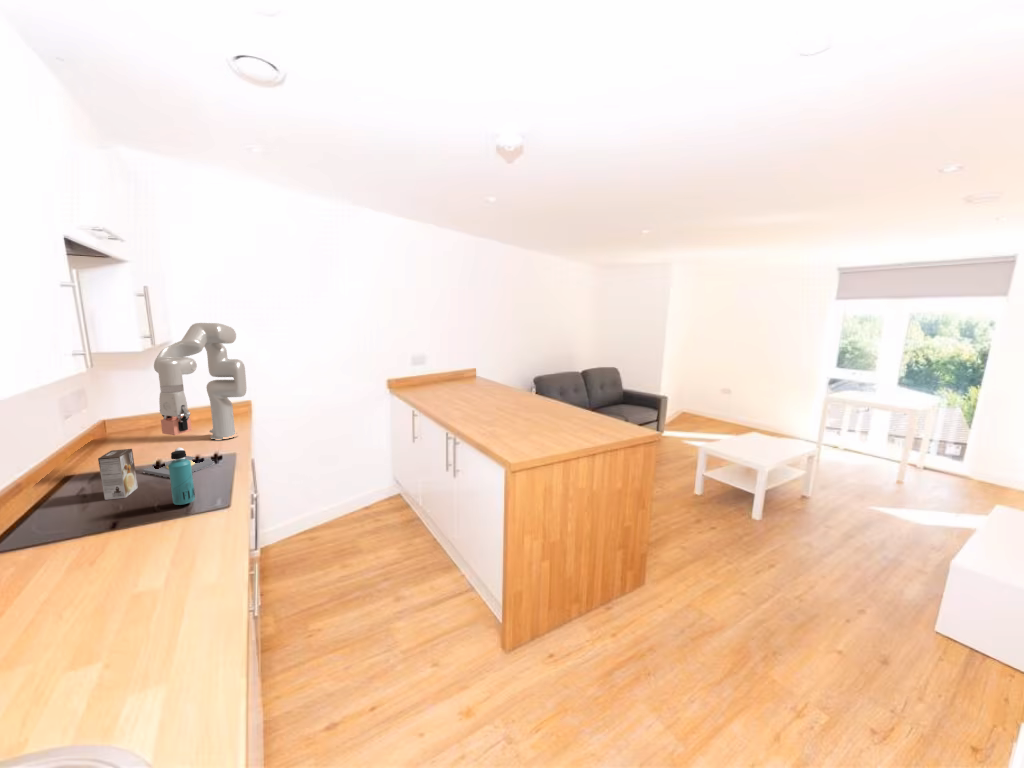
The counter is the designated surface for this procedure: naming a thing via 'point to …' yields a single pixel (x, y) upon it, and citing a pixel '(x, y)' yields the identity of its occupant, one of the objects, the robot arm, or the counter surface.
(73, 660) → the counter surface
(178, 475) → the beverage bottle
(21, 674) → the counter surface
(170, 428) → the collar
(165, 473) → the post board
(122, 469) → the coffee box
